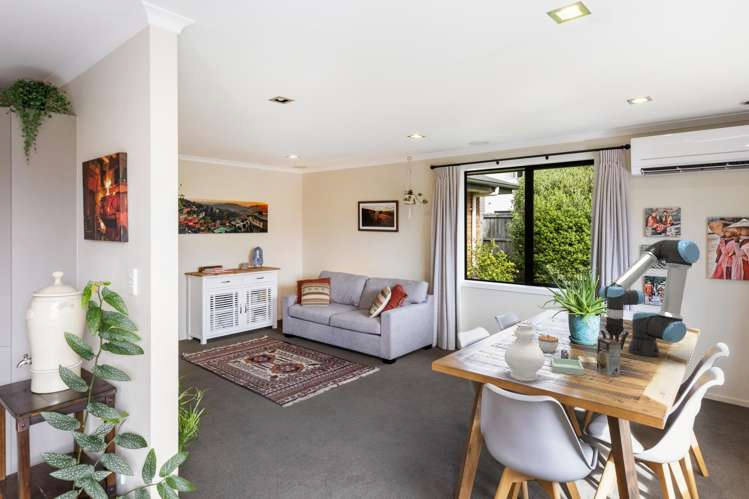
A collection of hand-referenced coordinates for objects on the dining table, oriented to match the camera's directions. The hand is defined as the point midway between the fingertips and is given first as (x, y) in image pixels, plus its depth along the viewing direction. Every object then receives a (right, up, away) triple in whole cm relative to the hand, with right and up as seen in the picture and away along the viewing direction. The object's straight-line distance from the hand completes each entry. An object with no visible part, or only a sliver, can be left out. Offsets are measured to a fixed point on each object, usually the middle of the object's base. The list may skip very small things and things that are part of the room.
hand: (613, 362), depth 223 cm
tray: (-27, -2, -6) cm, 27 cm away
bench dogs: (-22, -1, +7) cm, 23 cm away
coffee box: (-9, -2, -12) cm, 15 cm away
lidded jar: (-23, 0, +25) cm, 34 cm away
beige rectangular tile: (-11, -2, +4) cm, 12 cm away
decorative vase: (-52, -2, -17) cm, 54 cm away
